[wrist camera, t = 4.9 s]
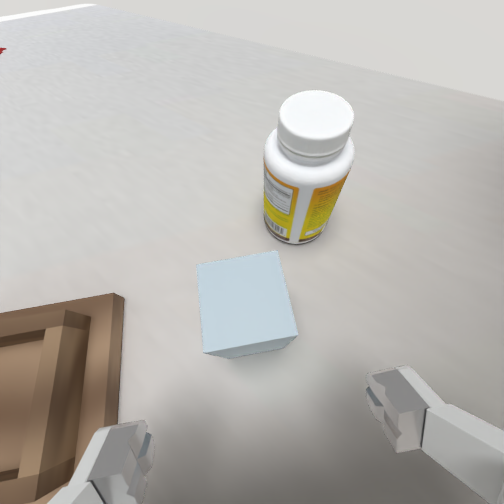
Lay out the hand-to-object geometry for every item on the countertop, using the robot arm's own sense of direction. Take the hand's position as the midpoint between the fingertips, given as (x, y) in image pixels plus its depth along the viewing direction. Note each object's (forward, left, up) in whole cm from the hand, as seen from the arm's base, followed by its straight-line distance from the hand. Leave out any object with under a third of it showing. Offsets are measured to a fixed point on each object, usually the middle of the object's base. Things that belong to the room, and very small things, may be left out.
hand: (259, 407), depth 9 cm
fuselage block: (-4, -2, -8) cm, 9 cm away
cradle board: (+5, -15, -8) cm, 18 cm away
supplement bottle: (-14, -1, -8) cm, 16 cm away
